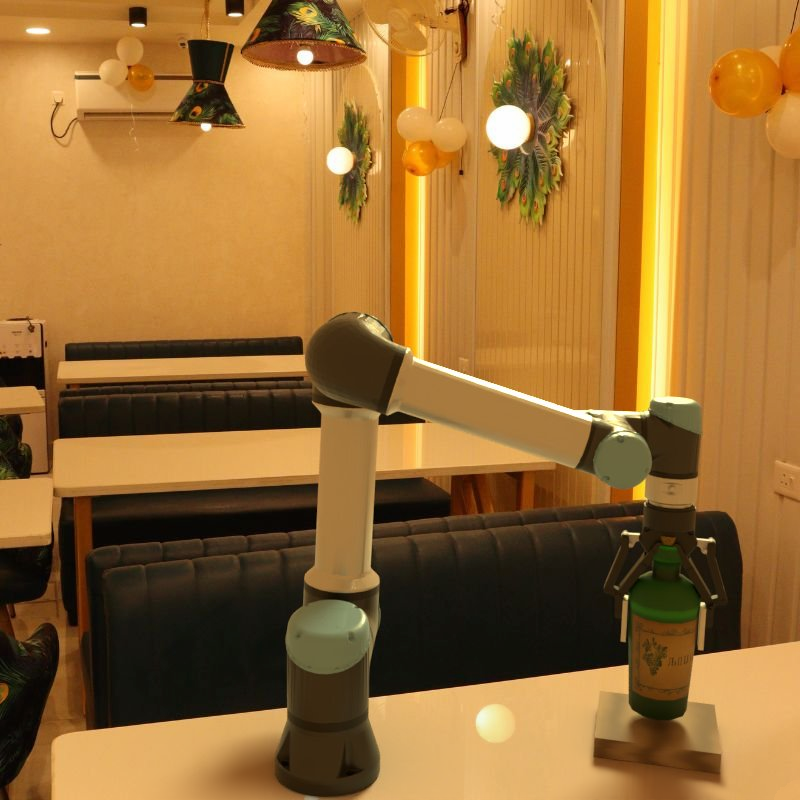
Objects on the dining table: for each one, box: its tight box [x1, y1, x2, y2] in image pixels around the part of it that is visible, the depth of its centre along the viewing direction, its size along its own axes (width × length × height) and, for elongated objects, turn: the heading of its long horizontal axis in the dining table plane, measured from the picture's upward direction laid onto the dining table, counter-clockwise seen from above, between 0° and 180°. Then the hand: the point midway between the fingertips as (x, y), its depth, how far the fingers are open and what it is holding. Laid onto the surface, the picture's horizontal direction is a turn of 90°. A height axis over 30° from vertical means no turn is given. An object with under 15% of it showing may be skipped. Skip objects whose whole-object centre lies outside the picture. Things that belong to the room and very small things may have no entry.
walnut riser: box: [593, 690, 722, 774], centre depth 154 cm, size 18×16×3 cm
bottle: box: [627, 536, 702, 720], centre depth 152 cm, size 11×11×28 cm
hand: (661, 642), depth 152 cm, fingers closed on bottle, 11 cm apart
